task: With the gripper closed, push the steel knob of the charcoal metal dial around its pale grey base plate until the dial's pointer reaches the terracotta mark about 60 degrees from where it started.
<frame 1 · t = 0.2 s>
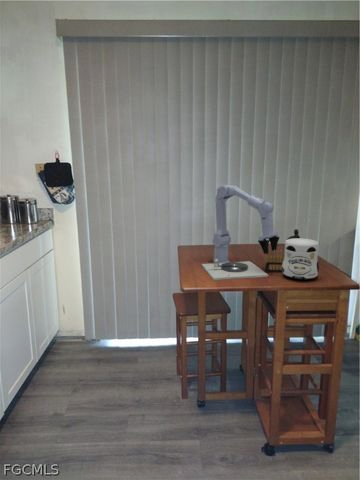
hand: (270, 252, 192), 11 cm above the table, tool pointing down, fingers open, 7 cm apart
ammunition clip: (275, 272, 195), on the table
dial plate: (233, 270, 197), on the table
milk container: (299, 277, 186), on the table
dial: (230, 263, 197), point 4 cm above the table, hinge at 0.0°
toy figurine: (293, 256, 227), on the table
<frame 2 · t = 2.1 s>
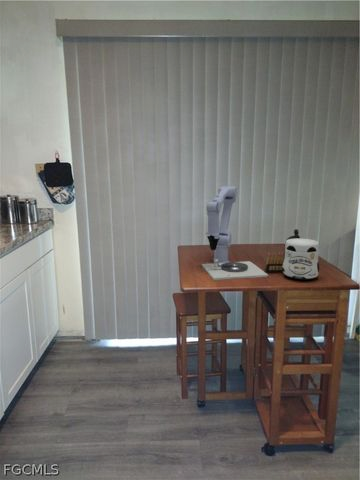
hand: (213, 249, 200), 10 cm above the table, tool pointing down, fingers closed
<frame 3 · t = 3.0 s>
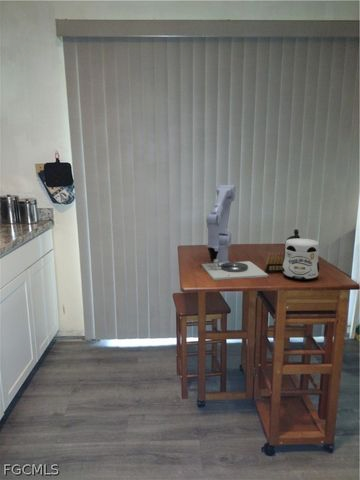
hand: (213, 261, 202), 4 cm above the table, tool pointing down, fingers closed
ammunition clip: (274, 271, 196), on the table, touching milk container
milk container: (300, 277, 186), on the table, touching ammunition clip
everything else where it was.
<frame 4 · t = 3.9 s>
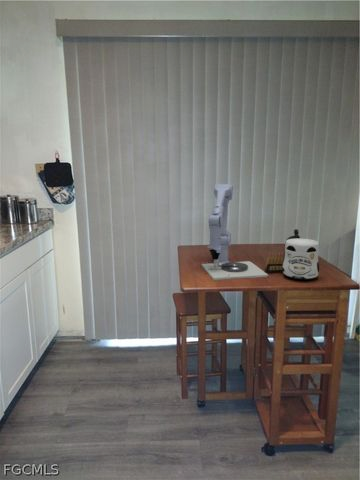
hand: (215, 263, 198), 4 cm above the table, tool pointing down, fingers closed, pressing on dial
dial: (230, 263, 197), point 4 cm above the table, hinge at 0.0°, touching gripper
everything else where it was.
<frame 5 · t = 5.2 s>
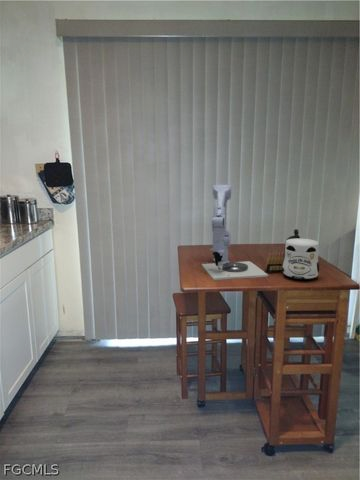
hand: (218, 265, 194), 4 cm above the table, tool pointing down, fingers closed, pressing on dial
ammunition clip: (275, 271, 195), on the table
milk container: (300, 277, 186), on the table
dial: (231, 264, 196), point 4 cm above the table, hinge at 26.3°, touching gripper
everything else where it was.
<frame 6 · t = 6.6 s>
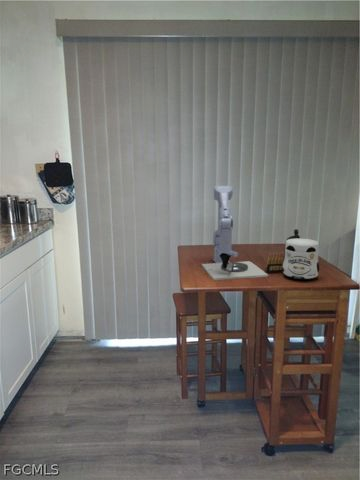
hand: (225, 267, 190), 4 cm above the table, tool pointing down, fingers closed, pressing on dial
dial: (233, 264, 196), point 4 cm above the table, hinge at 56.4°, touching gripper
everything else where it was.
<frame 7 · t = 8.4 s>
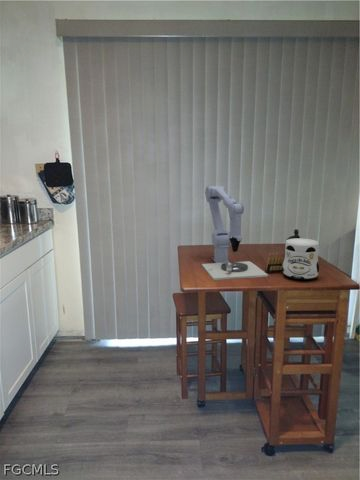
hand: (234, 251, 200), 9 cm above the table, tool pointing down, fingers closed
ammunition clip: (275, 271, 195), on the table, touching milk container
milk container: (300, 277, 186), on the table, touching ammunition clip
dial: (233, 264, 196), point 4 cm above the table, hinge at 56.5°
everything else where it was.
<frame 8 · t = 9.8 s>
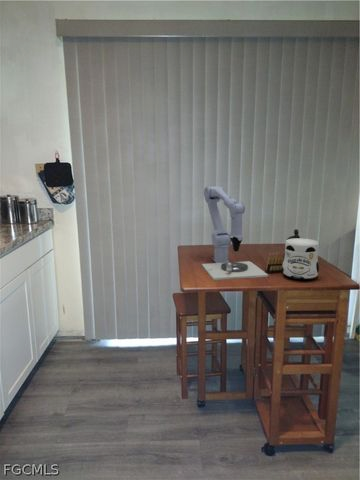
hand: (236, 251, 201), 9 cm above the table, tool pointing down, fingers closed
nothing on the table moved.
at the end: dial at +56° (first picture: +0°); ammunition clip moved 0.6 cm from its start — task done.
